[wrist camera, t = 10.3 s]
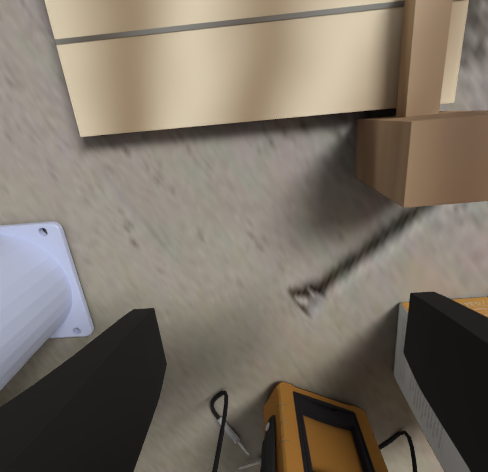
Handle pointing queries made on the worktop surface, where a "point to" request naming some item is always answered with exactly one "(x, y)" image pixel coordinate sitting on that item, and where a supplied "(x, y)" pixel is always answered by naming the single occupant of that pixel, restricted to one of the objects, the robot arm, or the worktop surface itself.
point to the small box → (417, 402)
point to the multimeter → (312, 435)
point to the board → (232, 59)
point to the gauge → (424, 125)
